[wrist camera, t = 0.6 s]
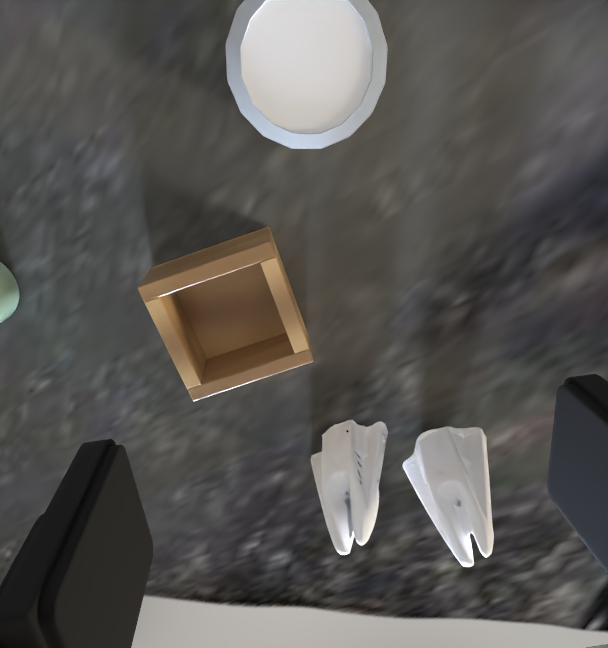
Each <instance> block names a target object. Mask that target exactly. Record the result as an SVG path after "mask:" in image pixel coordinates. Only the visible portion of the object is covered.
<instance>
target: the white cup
mask: <svg viewBox="0 0 608 648" xmlns="http://www.w3.org/2000/svg"><path fill="white" fill-rule="evenodd" d="M387 48H388V47H387V44H386V40H385V37H384V34H383V30H382V27H381V23H380V20H379V17H378V13H377V12H376V10H375V9H374V8H373V6H372V5H371V4H370V3H369V1H368V0H244V1H243V3H242V4H241V5H240V6H239V7H238V9H237V11H236V14H235V17H234V20H233V23H232V26H231V29H230V32H229V35H228V38H227V41H226V63H227V81H228V83H229V86H230V88H231V90H232V93H233V95H234V98H235V100H236V102H237V105H238V107H239V109H240V112H241V113H242V114H243V115H244V116H245V117H246V118H247V119H248V121H249V122H250V123H251V124H252V125H253V126H254V127H255V128H256V129H257V130H258V131H259V132H260V133H261V134H262V135H263V136H264V137H267V138H269V139H271V140H273V141H276V142H278V143H280V144H282V145H285V146H287V147H289V148H291V149H322V148H324V147H327V146H329V145H331V144H334V143H336V142H338V141H341V140H343V139H345V138H347V137H350V136H351V135H352V134H353V133H354V131H355V130H356V129H357V128H358V127H359V126H360V125H361V124H362V123H363V122H364V121H365V120H366V119H367V118H368V117H369V116H370V115H371V114H372V112H373V110H374V108H375V105H376V103H377V101H378V98H379V96H380V94H381V91H382V89H383V87H384V84H385V80H386V64H387Z"/></svg>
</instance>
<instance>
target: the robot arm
mask: <svg viewBox="0 0 608 648" xmlns="http://www.w3.org/2000/svg"><path fill="white" fill-rule="evenodd" d="M547 488H548V492H549V495H550V498H551V499H552V501H553V503H554V504H555V505H556V506H557V508H558V509H559V510H560V512H561V513H562V514H563V516H564V517H565V518H566V520H567V521H568V522H569V524H570V525H571V526H572V528H573V529H574V530H575V532H576V533H577V534H578V535H579V537H580V538H581V539H582V541H583V542H584V543H585V545H586V546H587V547H588V549H589V550H590V551H591V553H592V554H593V555H594V557H595V558H596V559H597V560H598V562H599V563H600V564H601V566H602V567H603V568H604V570H605V571H606V572H607V574H608V382H607V381H606V380H605V379H603V378H602V377H601V376H599V375H597V374H591V375H584V376H577V377H569V378H567V379H566V380H565V382H564V385H561V386H559V388H558V390H557V397H556V406H555V415H554V425H553V434H552V443H551V452H550V461H549V471H548V480H547ZM152 558H153V542H152V537H151V534H150V531H149V527H148V524H147V521H146V517H145V514H144V510H143V507H142V504H141V500H140V497H139V494H138V490H137V487H136V483H135V480H134V477H133V473H132V470H131V467H130V463H129V460H128V456H127V453H126V450H125V447H124V446H123V445H116V443H115V442H114V440H112V439H108V440H101V441H93V442H86V443H83V444H82V445H81V447H80V448H79V450H78V452H77V454H76V456H75V458H74V460H73V461H72V463H71V465H70V467H69V469H68V471H67V473H66V474H65V476H64V478H63V480H62V482H61V484H60V486H59V487H58V489H57V491H56V493H55V495H54V497H53V499H52V500H51V502H50V504H49V506H48V508H47V510H46V512H45V513H44V514H42V515H41V516H40V517H39V518H38V519H37V521H36V522H35V524H34V526H33V527H32V529H31V531H30V533H29V535H28V536H27V538H26V540H25V542H24V544H23V546H22V547H21V549H20V551H19V553H18V555H17V556H16V558H15V560H14V562H13V564H12V566H11V567H10V569H9V571H8V573H7V575H6V577H5V578H4V580H3V582H2V584H1V586H0V648H131V646H132V642H133V637H134V633H135V629H136V625H137V621H138V616H139V612H140V608H141V604H142V600H143V596H144V592H145V587H146V583H147V579H148V575H149V571H150V567H151V562H152ZM586 648H608V644H607V645H600V646H593V647H586Z"/></svg>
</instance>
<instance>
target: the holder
mask: <svg viewBox="0 0 608 648" xmlns="http://www.w3.org/2000/svg"><path fill="white" fill-rule="evenodd" d="M138 290H139V292H140V294H141V296H142V298H143V300H144V302H145V305H146V307H147V309H148V311H149V313H150V315H151V317H152V319H153V321H154V323H155V325H156V327H157V329H158V331H159V333H160V335H161V337H162V339H163V341H164V343H165V345H166V347H167V349H168V351H169V353H170V355H171V357H172V360H173V362H174V364H175V366H176V368H177V370H178V372H179V374H180V376H181V378H182V380H183V382H184V384H185V386H186V388H187V389H188V392H189V394H190V396H191V398H192V400H193V401H196V400H199V399H202V398H205V397H208V396H211V395H214V394H217V393H220V392H223V391H226V390H229V389H232V388H235V387H238V386H241V385H244V384H247V383H250V382H253V381H256V380H259V379H262V378H265V377H268V376H271V375H274V374H277V373H280V372H283V371H286V370H289V369H292V368H295V367H298V366H301V365H304V364H307V363H310V362H313V356H312V351H311V347H310V342H309V338H308V333H307V330H306V328H305V325H304V322H303V319H302V317H301V314H300V311H299V308H298V305H297V303H296V300H295V297H294V294H293V292H292V289H291V286H290V283H289V280H288V278H287V275H286V272H285V269H284V267H283V264H282V261H281V258H280V255H279V253H278V250H277V247H276V244H275V242H274V239H273V236H272V233H271V230H270V228H269V227H266V228H263V229H260V230H257V231H254V232H251V233H248V234H246V235H243V236H240V237H237V238H234V239H231V240H228V241H225V242H223V243H220V244H217V245H214V246H211V247H208V248H205V249H203V250H200V251H197V252H194V253H191V254H188V255H185V256H182V257H180V258H177V259H174V260H171V261H168V262H165V263H162V264H159V265H157V266H154V267H152V268H151V270H150V271H149V273H148V274H147V275H146V277H145V278H144V279H143V281H142V282H141V283H140V285H139V286H138Z"/></svg>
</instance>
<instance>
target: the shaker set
mask: <svg viewBox="0 0 608 648" xmlns="http://www.w3.org/2000/svg"><path fill="white" fill-rule="evenodd" d="M347 430H348V431H349V432H347ZM387 435H388V430H387V429H386V426H385V424H384V423H383V422H379V421H378V422H377V423H375V424H373V425H372V426H369V427H365V426H361V425H358V424H357V423H356V422H354V420H347V421H346V422H342V423H340V424H337V425H336V424H334V425H333V427H330V429H328V430H327V431H326V432H325V433H324V434H322V451H321V452H319V453H317V454H314V455H312V456H311V463H312V468H313V473H314V477H315V481H316V486H317V490H318V494H319V498H320V502H321V505H322V509H323V513H324V517H325V520H326V524H327V527H328V530H329V533H330V536H331V539H332V541H333V544H334V546H335V548H336V550H337V552H338V553H339V554H341V555H346V554H348V553H350V550H351V547H352V543H353V539H354V536H355V539H356V541H357V543H358V544H359V545H364V544H365V543H366V542H367V541H368V539H369V537H370V535H371V532H372V530H373V527H374V524H375V520H376V516H377V510H378V504H379V491H378V486H379V481H380V475H381V469H382V464H383V457H384V450H385V444H386V439H387ZM355 451H356V452H355ZM356 453H357V454H358V455H359V456H360V457H361V459H362V461H361V459H359V457H358V456H357V454H356ZM356 458H357V460H358V462H359V463H360V464H358V462H357V460H356ZM403 469H404V470H405V472H406V474H407V476H408V478H409V480H410V482H411V483H412V485H413V487H414V489H415V491H416V493H417V495H418V497H419V498H420V500H421V502H422V504H423V505H424V507H425V509H426V511H427V512H428V514H429V516H430V517H431V519H432V521H433V522H434V524H435V526H436V528H437V529H438V531H439V532H440V534H441V536H442V537H443V539H444V540H445V542H446V543H447V545H448V546H449V548H450V549H451V551H452V552H453V554H454V555H455V556H456V558H457V559H458V561H459V562H460V563H461V565H463V566H464V567H471V566H473V565H474V560H473V552H472V546H471V541H470V533H472V534H473V535H474V536H475V539H476V542H477V544H478V547H479V550H480V552H481V554H482V555H483V556H484V557H488V556H489V555H490V554H491V553H492V549H493V539H494V534H493V528H492V514H491V499H490V483H489V470H488V461H487V449H486V436H485V435H484V433H483V430H482V429H481V428H478V427H471V428H453V427H449V426H448V427H443V428H438V429H431V430H428V431H426V432H424V433H422V434H421V435H419V437H418V438H417V440H416V445H415V450H414V453H413V455H412V456H411V457H410V458H408V459H407V460H406V461H404V463H403Z"/></svg>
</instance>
